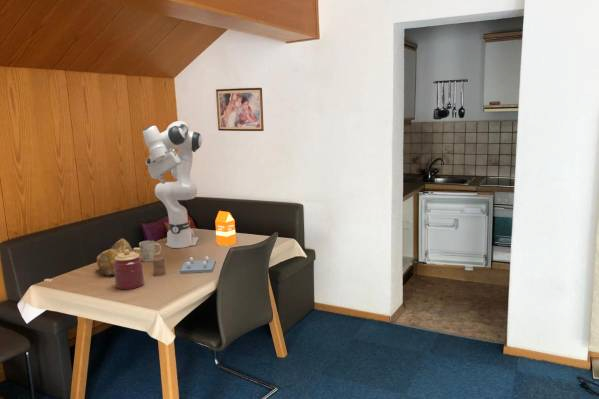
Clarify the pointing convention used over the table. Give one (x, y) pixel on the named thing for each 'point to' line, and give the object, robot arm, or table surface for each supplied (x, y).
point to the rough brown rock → (111, 257)
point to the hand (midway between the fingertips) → (170, 179)
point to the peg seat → (198, 266)
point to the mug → (148, 250)
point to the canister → (128, 270)
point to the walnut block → (158, 266)
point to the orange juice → (225, 229)
